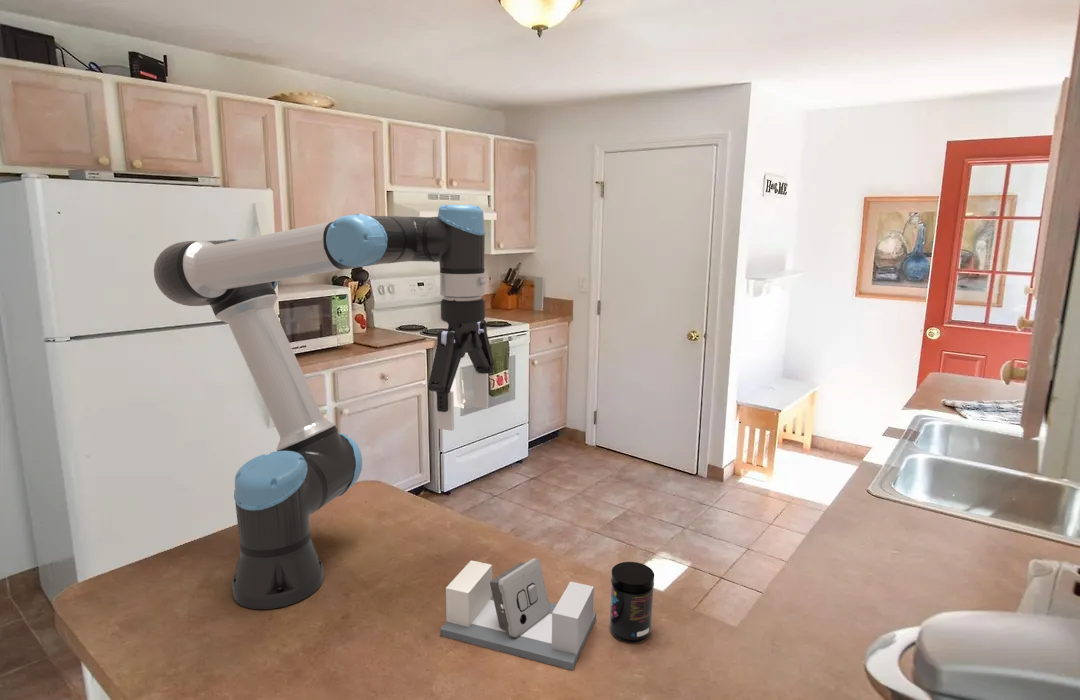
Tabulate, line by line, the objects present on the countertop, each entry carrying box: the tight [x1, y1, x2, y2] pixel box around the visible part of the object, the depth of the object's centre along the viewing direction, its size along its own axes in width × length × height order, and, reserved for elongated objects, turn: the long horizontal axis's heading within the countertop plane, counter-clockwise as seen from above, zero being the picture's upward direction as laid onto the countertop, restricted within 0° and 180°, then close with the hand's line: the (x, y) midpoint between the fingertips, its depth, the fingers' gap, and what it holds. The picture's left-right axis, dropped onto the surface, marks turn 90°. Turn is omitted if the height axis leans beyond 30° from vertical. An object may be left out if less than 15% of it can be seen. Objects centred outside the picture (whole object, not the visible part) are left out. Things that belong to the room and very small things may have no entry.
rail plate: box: [440, 559, 597, 671], centre depth 101 cm, size 22×13×7 cm, turn 70°
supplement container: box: [609, 561, 655, 644], centre depth 100 cm, size 7×7×10 cm
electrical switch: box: [490, 557, 550, 637], centre depth 101 cm, size 9×5×9 cm, turn 141°
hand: (464, 417), depth 110 cm, fingers open, 13 cm apart
